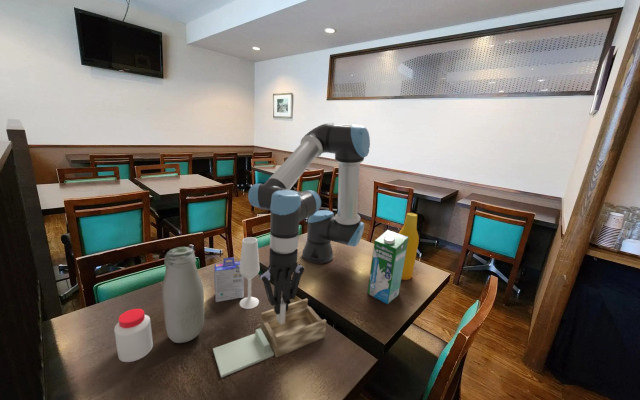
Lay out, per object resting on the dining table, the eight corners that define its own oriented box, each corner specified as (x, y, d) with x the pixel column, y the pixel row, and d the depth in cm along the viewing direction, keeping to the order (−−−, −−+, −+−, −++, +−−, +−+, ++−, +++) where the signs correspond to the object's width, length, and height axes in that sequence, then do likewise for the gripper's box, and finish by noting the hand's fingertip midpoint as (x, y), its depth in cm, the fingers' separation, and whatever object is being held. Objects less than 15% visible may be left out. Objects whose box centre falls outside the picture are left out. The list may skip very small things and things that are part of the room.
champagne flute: (251, 311, 90) (252, 246, 84) (235, 305, 92) (234, 241, 86) (262, 299, 96) (264, 238, 90) (246, 294, 98) (247, 234, 92)
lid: (261, 334, 81) (261, 324, 80) (273, 357, 73) (274, 346, 72) (213, 352, 73) (212, 341, 72) (221, 379, 66) (220, 367, 65)
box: (305, 313, 91) (306, 298, 89) (324, 337, 81) (326, 320, 79) (260, 329, 82) (260, 312, 81) (276, 357, 72) (276, 339, 71)
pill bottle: (114, 365, 66) (108, 329, 64) (122, 343, 73) (117, 309, 70) (150, 357, 70) (146, 322, 67) (154, 336, 76) (151, 303, 74)
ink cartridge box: (242, 289, 101) (242, 254, 97) (244, 297, 96) (244, 261, 93) (214, 293, 97) (213, 257, 94) (215, 302, 92) (214, 265, 89)
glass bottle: (192, 319, 84) (188, 237, 76) (211, 335, 78) (208, 248, 71) (159, 338, 76) (150, 248, 69) (178, 357, 70) (170, 261, 63)
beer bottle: (403, 268, 127) (414, 210, 119) (416, 279, 118) (428, 217, 111) (387, 270, 124) (396, 211, 116) (398, 281, 115) (409, 218, 108)
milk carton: (367, 293, 105) (375, 234, 98) (378, 284, 111) (387, 229, 105) (387, 304, 99) (397, 242, 92) (398, 294, 105) (408, 236, 99)
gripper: (298, 238, 78) (294, 307, 84) (255, 246, 71) (254, 320, 77) (311, 249, 72) (306, 321, 78) (265, 258, 65) (264, 337, 71)
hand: (280, 320), depth 78 cm, fingers closed
